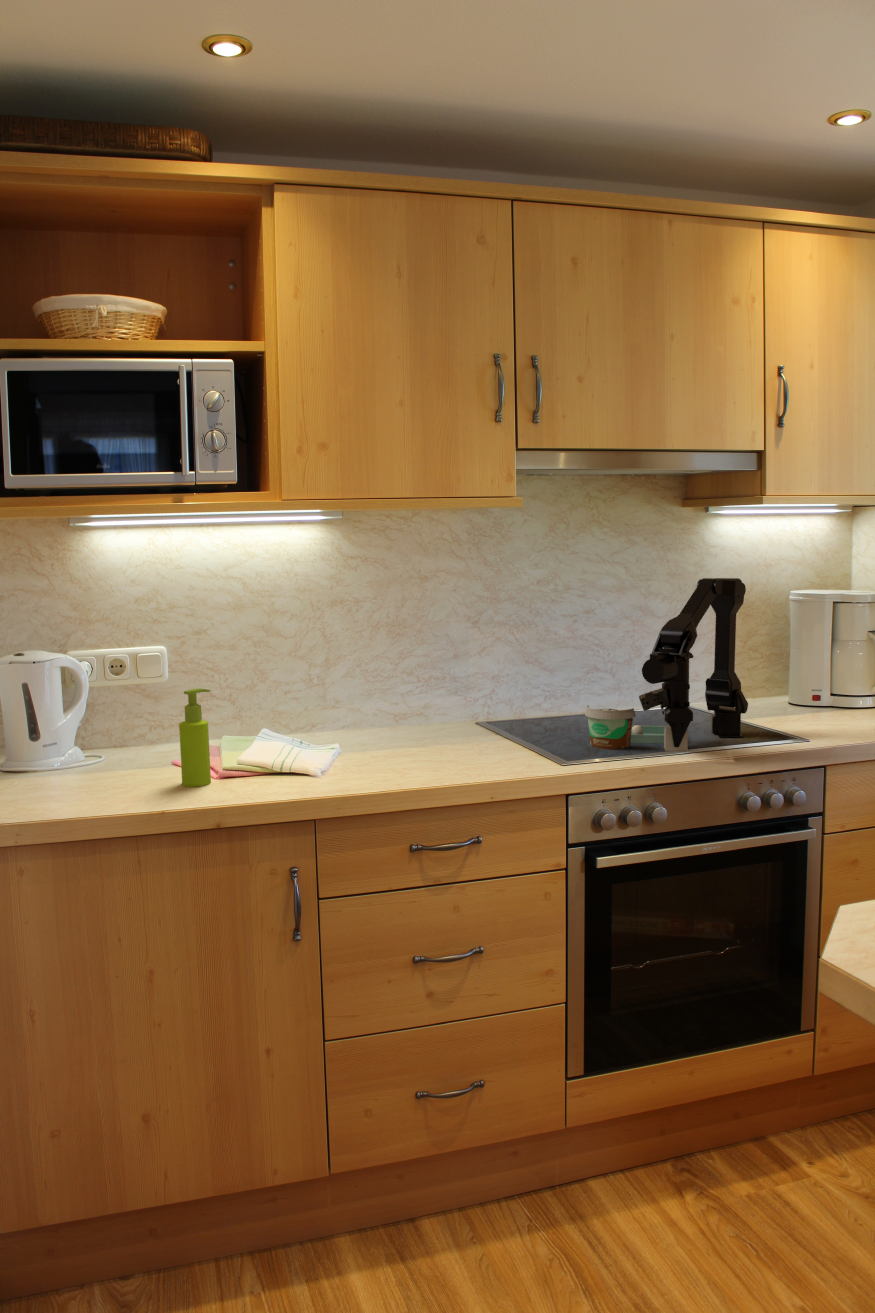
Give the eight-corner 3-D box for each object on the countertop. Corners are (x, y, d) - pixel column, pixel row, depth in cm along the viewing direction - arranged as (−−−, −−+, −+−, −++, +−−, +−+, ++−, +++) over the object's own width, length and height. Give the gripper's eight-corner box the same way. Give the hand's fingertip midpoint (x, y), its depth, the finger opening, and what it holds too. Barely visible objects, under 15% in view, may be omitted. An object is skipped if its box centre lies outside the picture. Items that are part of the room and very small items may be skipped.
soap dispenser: (220, 781, 198) (216, 688, 196) (192, 788, 193) (187, 692, 191) (204, 777, 202) (200, 686, 200) (176, 784, 197) (171, 690, 194)
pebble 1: (642, 735, 236) (642, 724, 235) (642, 737, 233) (642, 726, 233) (631, 734, 236) (631, 724, 236) (631, 737, 233) (631, 726, 233)
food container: (577, 750, 222) (577, 708, 221) (586, 745, 228) (586, 704, 227) (628, 754, 217) (628, 712, 216) (635, 749, 222) (635, 708, 221)
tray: (677, 735, 237) (677, 726, 237) (680, 746, 225) (680, 735, 225) (624, 735, 239) (624, 725, 239) (624, 744, 227) (625, 734, 227)
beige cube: (685, 747, 221) (685, 726, 221) (687, 751, 216) (687, 730, 216) (664, 746, 222) (664, 725, 222) (665, 751, 217) (665, 730, 217)
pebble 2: (643, 738, 232) (643, 727, 231) (643, 740, 229) (643, 729, 229) (631, 738, 232) (631, 727, 232) (631, 740, 230) (631, 729, 229)
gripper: (639, 673, 228) (639, 736, 230) (642, 684, 210) (642, 752, 212) (686, 673, 226) (685, 736, 228) (693, 685, 208) (692, 753, 210)
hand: (675, 744), depth 219 cm, fingers closed on beige cube, 5 cm apart
